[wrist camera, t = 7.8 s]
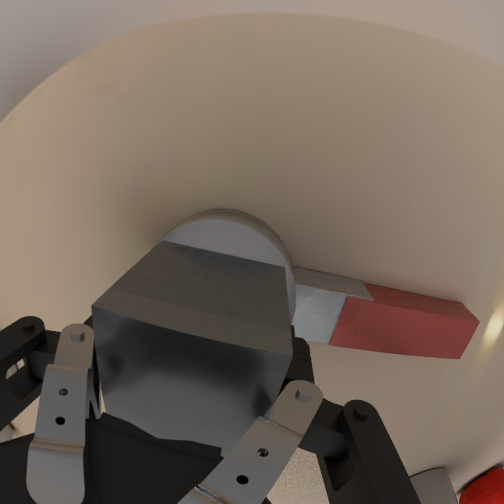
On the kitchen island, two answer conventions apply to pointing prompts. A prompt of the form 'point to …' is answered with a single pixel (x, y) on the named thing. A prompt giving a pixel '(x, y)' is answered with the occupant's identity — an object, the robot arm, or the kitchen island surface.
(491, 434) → the kitchen island surface
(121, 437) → the robot arm
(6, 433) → the soap bottle
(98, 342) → the brushed metal cube
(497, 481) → the tomato
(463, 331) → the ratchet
